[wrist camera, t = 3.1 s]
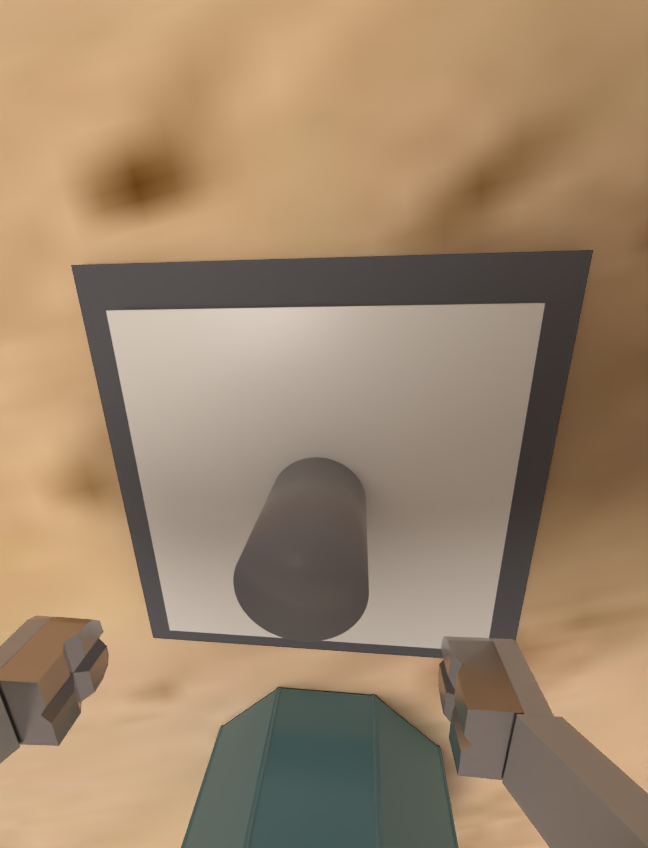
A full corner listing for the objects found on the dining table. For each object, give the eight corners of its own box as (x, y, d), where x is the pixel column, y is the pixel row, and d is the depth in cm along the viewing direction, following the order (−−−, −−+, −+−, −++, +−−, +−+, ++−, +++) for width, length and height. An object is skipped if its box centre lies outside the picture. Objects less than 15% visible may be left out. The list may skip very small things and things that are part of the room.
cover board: (533, 302, 12) (661, 305, 7) (480, 635, 16) (534, 785, 11) (120, 310, 13) (-28, 316, 8) (177, 616, 18) (105, 742, 13)
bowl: (446, 700, 18) (485, 878, 13) (428, 841, 22) (452, 1026, 17) (212, 681, 19) (152, 837, 14) (234, 818, 23) (194, 984, 18)
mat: (583, 252, 12) (593, 250, 11) (506, 652, 17) (511, 662, 17) (81, 266, 13) (71, 265, 13) (158, 629, 19) (153, 637, 18)
